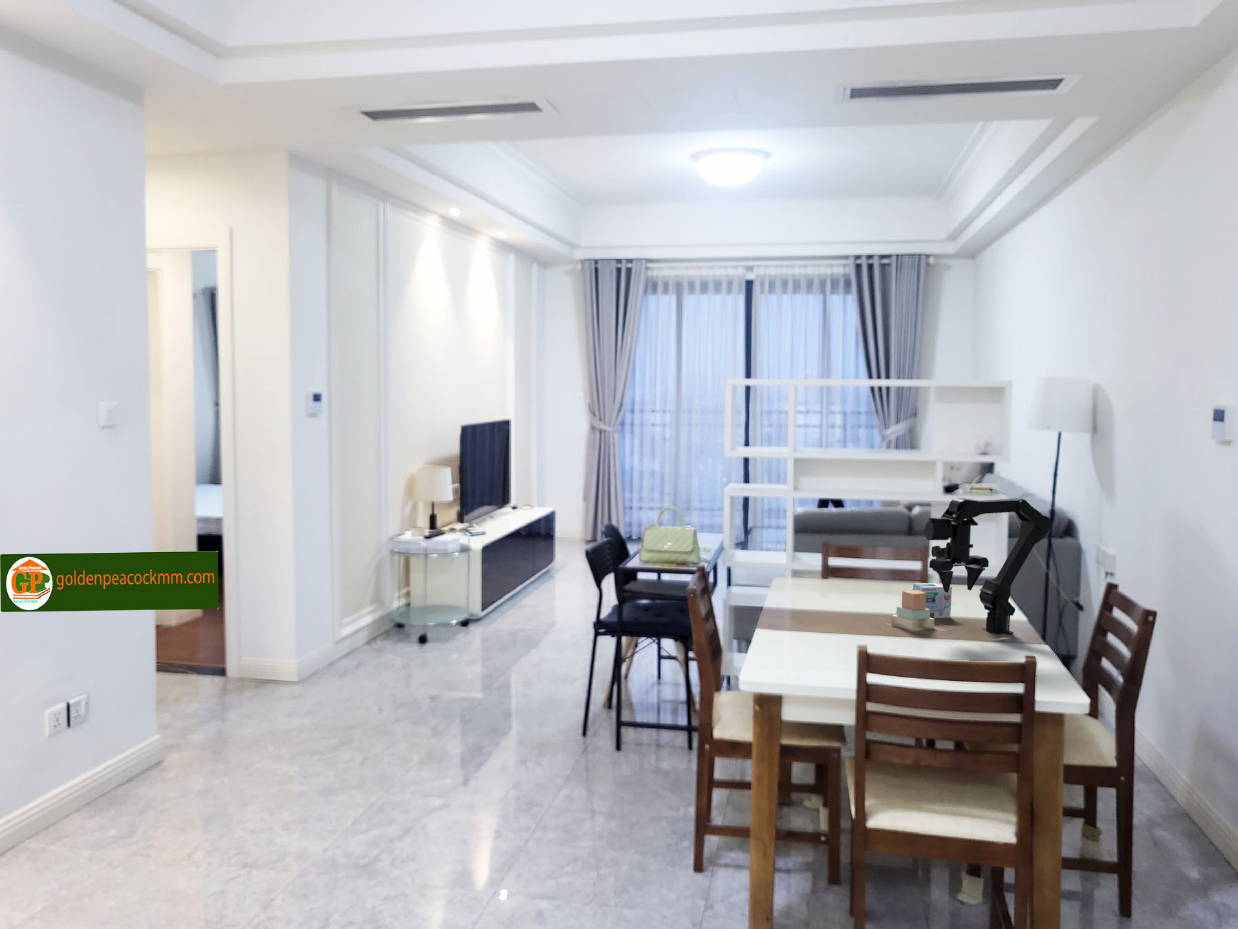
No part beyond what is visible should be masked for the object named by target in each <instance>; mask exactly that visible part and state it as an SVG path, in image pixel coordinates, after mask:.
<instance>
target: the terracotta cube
mask: <svg viewBox="0 0 1238 929" xmlns="http://www.w3.org/2000/svg"><path fill="white" fill-rule="evenodd" d="M901 592H902V593H901V606H902V607H903V608H907V609H910V610H922V609H926V593H924V592H921V591H917V590H913V589H910V590H909V589H908V590H902V591H901Z"/></svg>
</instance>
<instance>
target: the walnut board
mask: <svg viewBox="0 0 1238 929" xmlns="http://www.w3.org/2000/svg"><path fill="white" fill-rule="evenodd" d="M885 625H886V626H889V627H892V628H895V629H898V630H901V631H904V632H906V633H909V634H913V635H916V636H918V635H922V634H923V635H924V634H932V633H939V632H947V631H955V630H958V628H956V627H953V626H949V625H946V624H944V623H939V622H936V621H935V622H934V629H926V630H918V631H909V630H906V629H903V628H900V627H897V626H894V625H891V622H888V623H885Z"/></svg>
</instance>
